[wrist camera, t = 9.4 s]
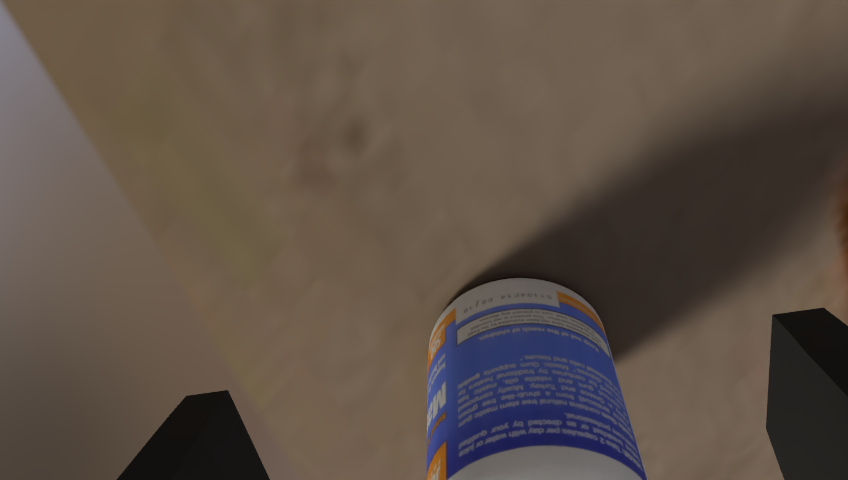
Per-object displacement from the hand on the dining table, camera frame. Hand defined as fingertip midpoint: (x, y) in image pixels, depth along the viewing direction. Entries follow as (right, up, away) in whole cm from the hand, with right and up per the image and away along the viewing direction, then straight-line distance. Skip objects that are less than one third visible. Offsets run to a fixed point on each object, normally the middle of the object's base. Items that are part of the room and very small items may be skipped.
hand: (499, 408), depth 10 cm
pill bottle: (+2, -1, +13) cm, 13 cm away
